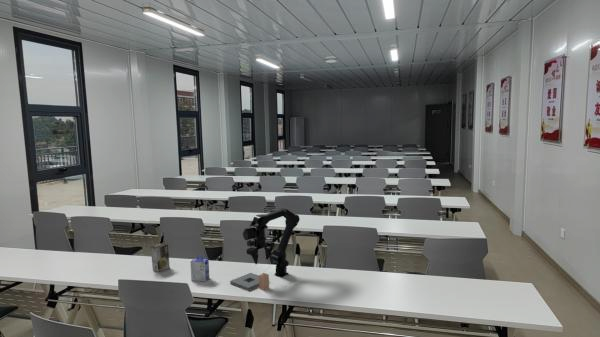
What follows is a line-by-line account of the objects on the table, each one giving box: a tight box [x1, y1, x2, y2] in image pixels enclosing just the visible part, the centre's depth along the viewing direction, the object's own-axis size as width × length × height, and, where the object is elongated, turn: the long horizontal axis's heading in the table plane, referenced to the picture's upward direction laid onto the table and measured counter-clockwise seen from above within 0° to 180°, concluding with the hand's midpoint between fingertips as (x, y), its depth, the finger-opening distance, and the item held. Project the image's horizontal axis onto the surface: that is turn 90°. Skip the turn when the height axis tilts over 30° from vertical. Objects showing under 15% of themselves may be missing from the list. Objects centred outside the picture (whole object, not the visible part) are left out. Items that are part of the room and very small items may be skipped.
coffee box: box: [150, 242, 171, 273], centre depth 257 cm, size 9×6×16 cm
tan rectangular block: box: [258, 272, 270, 291], centre depth 223 cm, size 4×4×8 cm
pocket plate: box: [229, 272, 260, 292], centre depth 232 cm, size 16×16×2 cm
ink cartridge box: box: [189, 255, 210, 282], centre depth 238 cm, size 10×6×14 cm, turn 78°
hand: (261, 261), depth 233 cm, fingers open, 9 cm apart
